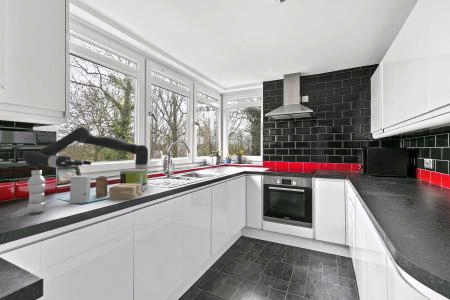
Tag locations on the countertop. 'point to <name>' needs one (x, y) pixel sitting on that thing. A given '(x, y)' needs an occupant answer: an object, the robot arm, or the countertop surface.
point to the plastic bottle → (36, 192)
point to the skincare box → (80, 189)
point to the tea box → (133, 177)
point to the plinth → (125, 191)
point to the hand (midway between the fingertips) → (86, 163)
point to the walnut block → (101, 186)
